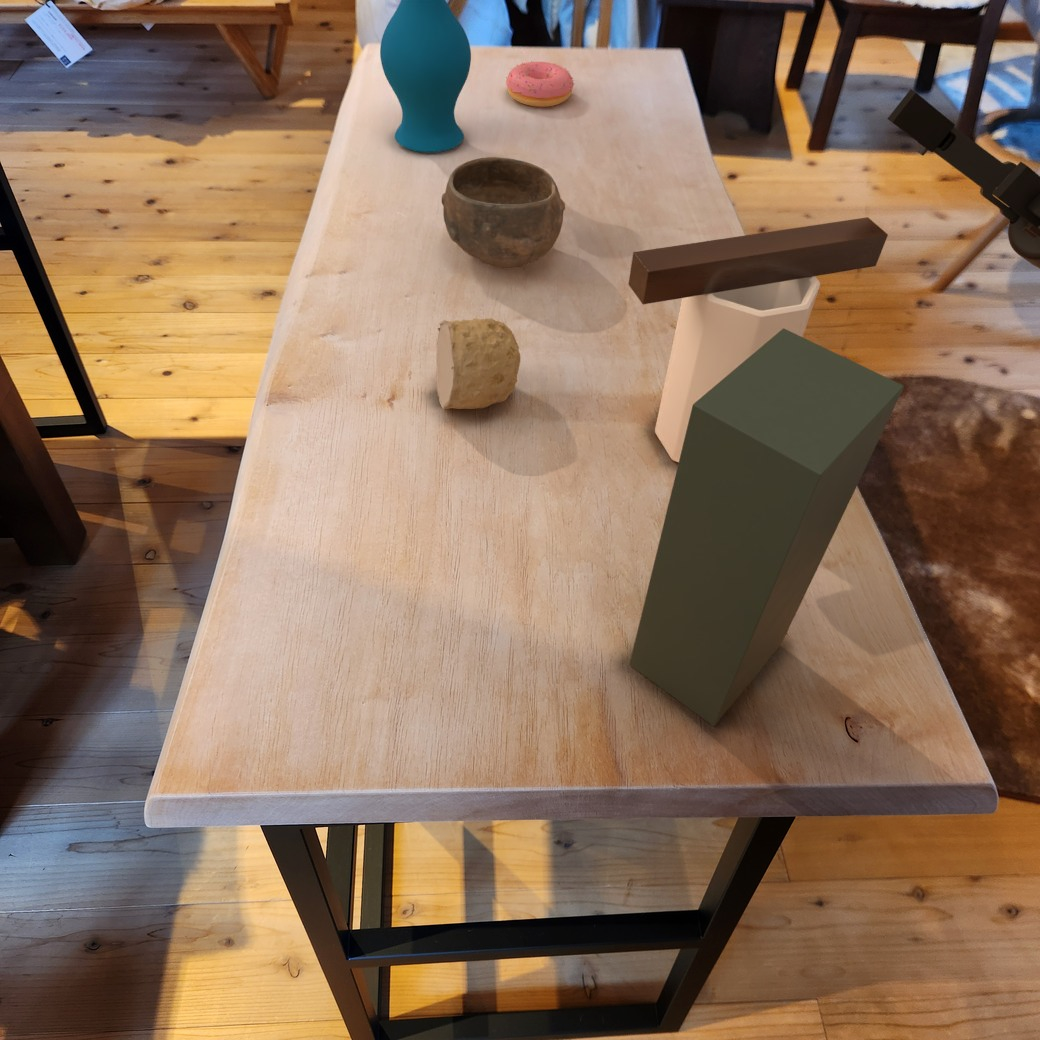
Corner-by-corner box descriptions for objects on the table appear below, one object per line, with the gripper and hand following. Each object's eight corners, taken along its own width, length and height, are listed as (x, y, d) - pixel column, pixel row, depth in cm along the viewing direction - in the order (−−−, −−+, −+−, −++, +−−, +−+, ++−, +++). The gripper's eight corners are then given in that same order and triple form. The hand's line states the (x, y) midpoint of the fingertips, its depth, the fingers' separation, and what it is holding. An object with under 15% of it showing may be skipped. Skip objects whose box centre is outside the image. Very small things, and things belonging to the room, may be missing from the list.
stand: (781, 645, 69) (904, 385, 49) (713, 727, 64) (821, 475, 44) (699, 591, 72) (783, 327, 52) (628, 664, 67) (692, 404, 47)
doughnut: (499, 84, 142) (500, 57, 138) (563, 81, 143) (565, 54, 140) (513, 112, 135) (513, 84, 131) (580, 108, 136) (582, 81, 133)
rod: (875, 266, 73) (888, 234, 71) (642, 304, 68) (648, 271, 66) (856, 248, 75) (868, 216, 73) (628, 284, 70) (633, 251, 68)
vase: (387, 122, 130) (369, -97, 110) (469, 122, 132) (467, -96, 111) (387, 159, 123) (368, -71, 102) (474, 158, 124) (473, -69, 103)
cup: (631, 431, 86) (661, 268, 72) (705, 387, 91) (745, 227, 77) (715, 494, 80) (764, 331, 66) (788, 444, 85) (848, 282, 71)
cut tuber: (400, 317, 85) (490, 276, 84) (444, 391, 92) (528, 354, 91) (404, 371, 79) (502, 327, 77) (451, 446, 86) (542, 407, 84)
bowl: (529, 300, 100) (533, 222, 93) (417, 264, 105) (413, 186, 97) (578, 246, 109) (585, 170, 101) (473, 214, 113) (472, 139, 105)
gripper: (1132, 340, 74) (1020, 261, 62) (952, 203, 90) (834, 119, 78) (1212, 268, 70) (1109, 169, 58) (1009, 138, 86) (894, 38, 74)
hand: (951, 140), depth 68 cm, fingers open, 13 cm apart
